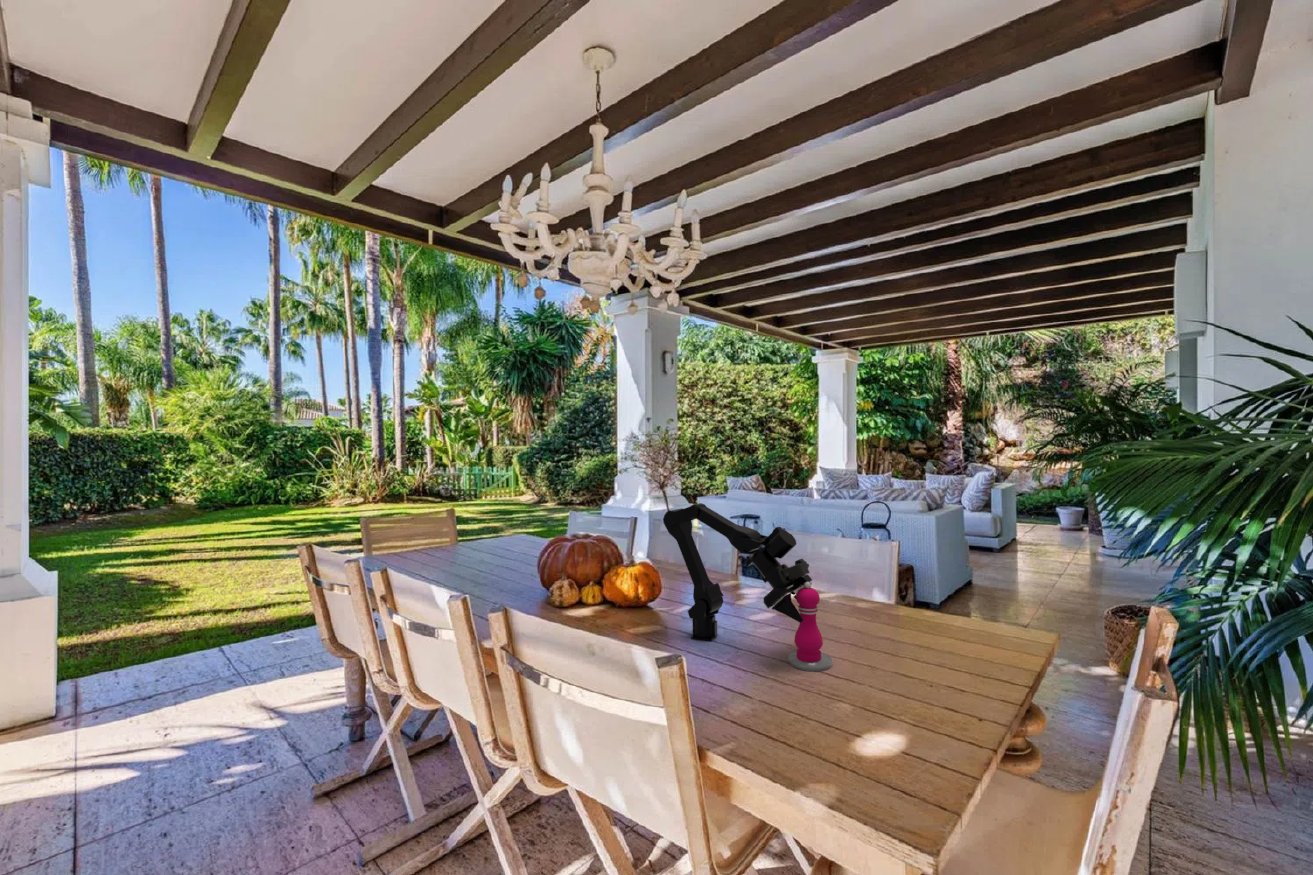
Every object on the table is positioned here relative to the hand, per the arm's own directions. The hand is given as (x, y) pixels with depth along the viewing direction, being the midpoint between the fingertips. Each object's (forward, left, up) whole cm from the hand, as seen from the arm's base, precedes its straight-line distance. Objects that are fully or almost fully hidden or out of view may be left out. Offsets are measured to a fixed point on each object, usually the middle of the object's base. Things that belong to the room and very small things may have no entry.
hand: (809, 616), depth 152 cm
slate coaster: (0, 0, -12) cm, 12 cm away
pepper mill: (0, 0, -11) cm, 11 cm away
